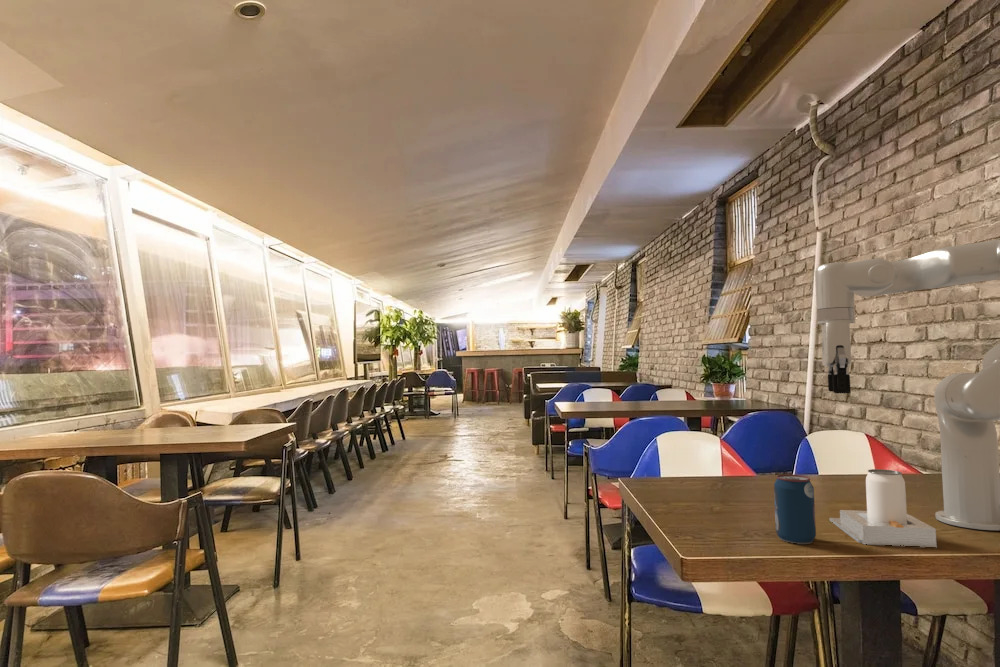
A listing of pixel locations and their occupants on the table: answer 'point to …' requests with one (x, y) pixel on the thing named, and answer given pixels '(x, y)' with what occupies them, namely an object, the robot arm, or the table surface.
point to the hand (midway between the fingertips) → (839, 392)
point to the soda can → (794, 509)
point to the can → (885, 496)
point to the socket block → (885, 530)
